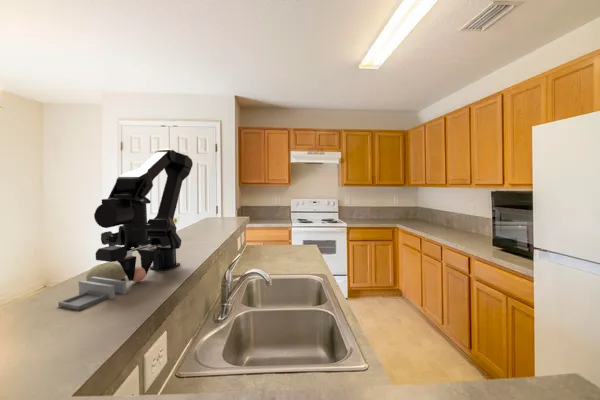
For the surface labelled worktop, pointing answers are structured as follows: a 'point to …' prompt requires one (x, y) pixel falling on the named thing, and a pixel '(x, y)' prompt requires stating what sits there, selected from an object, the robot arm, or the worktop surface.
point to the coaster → (82, 300)
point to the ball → (139, 274)
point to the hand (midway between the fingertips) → (137, 277)
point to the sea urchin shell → (106, 271)
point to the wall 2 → (111, 283)
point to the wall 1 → (97, 288)
